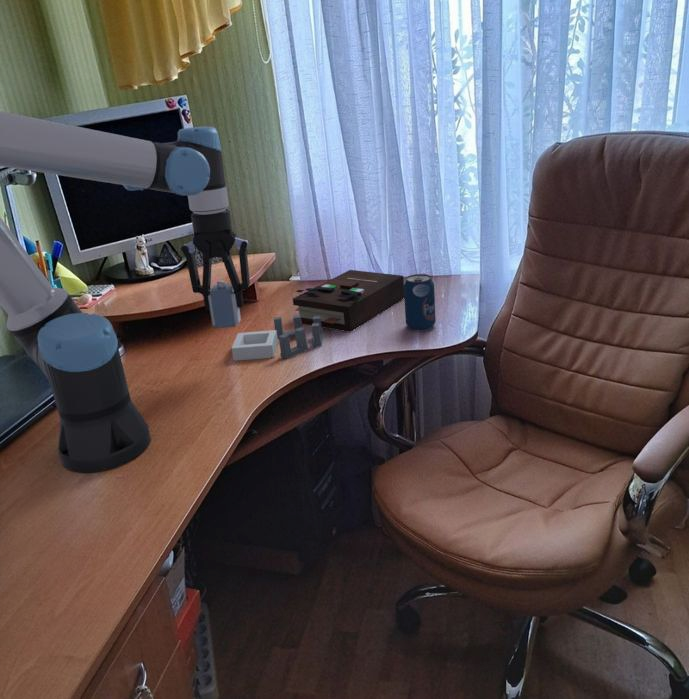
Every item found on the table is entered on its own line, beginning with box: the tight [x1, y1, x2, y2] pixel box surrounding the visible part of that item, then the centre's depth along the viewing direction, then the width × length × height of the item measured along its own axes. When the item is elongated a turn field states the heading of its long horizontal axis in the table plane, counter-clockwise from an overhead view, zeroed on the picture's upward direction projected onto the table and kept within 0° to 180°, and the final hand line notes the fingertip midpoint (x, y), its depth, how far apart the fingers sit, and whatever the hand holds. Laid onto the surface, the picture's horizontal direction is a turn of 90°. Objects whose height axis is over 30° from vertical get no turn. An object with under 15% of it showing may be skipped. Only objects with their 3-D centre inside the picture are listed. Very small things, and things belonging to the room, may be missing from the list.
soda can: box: [403, 273, 437, 332], centre depth 153 cm, size 7×7×12 cm
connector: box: [210, 280, 237, 329], centre depth 136 cm, size 4×4×9 cm
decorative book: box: [292, 269, 405, 332], centre depth 169 cm, size 19×8×30 cm
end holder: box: [230, 329, 279, 362], centre depth 150 cm, size 9×9×3 cm
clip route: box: [273, 314, 324, 360], centre depth 150 cm, size 11×14×5 cm
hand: (226, 322), depth 138 cm, fingers closed on connector, 4 cm apart
